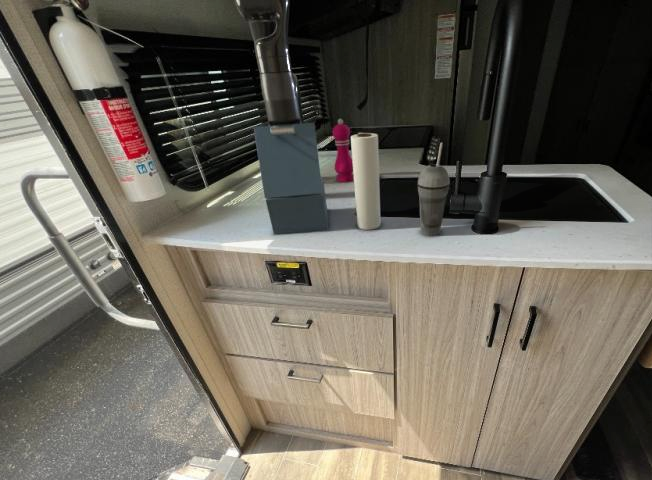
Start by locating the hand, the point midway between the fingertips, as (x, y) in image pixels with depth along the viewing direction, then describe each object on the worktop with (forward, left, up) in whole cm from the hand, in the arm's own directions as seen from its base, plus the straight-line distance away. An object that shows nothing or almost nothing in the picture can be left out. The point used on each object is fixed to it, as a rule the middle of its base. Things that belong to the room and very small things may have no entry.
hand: (294, 174), depth 82 cm
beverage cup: (+16, +32, -12) cm, 38 cm away
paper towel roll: (+8, +18, -12) cm, 23 cm away
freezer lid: (+5, 0, +4) cm, 7 cm away
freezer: (+1, 0, -12) cm, 12 cm away
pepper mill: (-36, +14, -12) cm, 40 cm away
